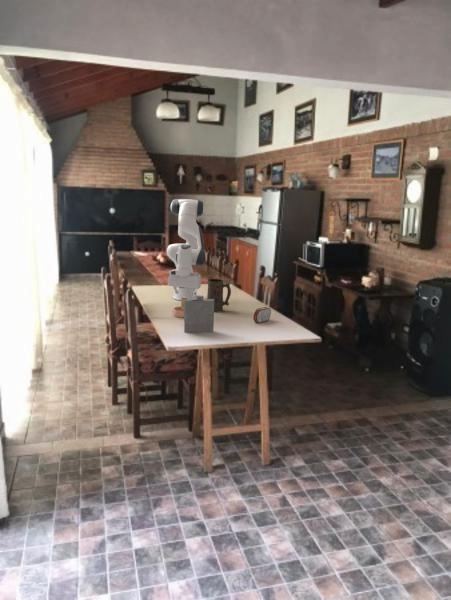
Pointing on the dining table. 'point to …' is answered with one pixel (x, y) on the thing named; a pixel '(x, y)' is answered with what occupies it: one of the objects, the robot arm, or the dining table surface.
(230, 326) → the dining table surface
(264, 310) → the tin
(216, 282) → the beer stein
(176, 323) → the dining table surface
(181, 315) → the candle jar
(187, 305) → the hip flask
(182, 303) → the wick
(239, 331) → the dining table surface
